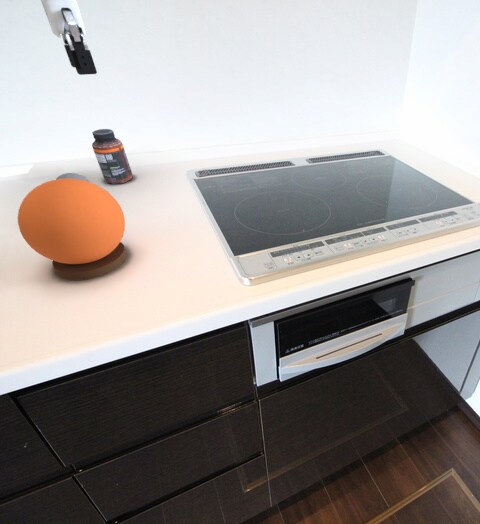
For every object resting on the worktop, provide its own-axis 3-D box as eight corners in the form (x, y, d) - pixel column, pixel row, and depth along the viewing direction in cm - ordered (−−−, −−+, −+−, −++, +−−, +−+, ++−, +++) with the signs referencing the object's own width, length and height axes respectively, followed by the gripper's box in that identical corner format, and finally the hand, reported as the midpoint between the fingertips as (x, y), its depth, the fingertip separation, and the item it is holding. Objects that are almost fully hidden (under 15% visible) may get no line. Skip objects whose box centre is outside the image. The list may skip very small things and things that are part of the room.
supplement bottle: (125, 172, 90) (110, 125, 83) (138, 179, 87) (123, 131, 80) (100, 179, 86) (81, 131, 79) (112, 186, 83) (95, 136, 76)
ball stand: (47, 297, 52) (-2, 211, 44) (41, 255, 60) (-2, 175, 52) (145, 268, 59) (117, 188, 51) (128, 233, 67) (101, 160, 59)
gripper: (18, -40, 67) (57, 65, 77) (20, -45, 56) (66, 78, 66) (66, -36, 70) (98, 63, 80) (78, -40, 59) (113, 76, 69)
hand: (84, 70), depth 73 cm, fingers open, 9 cm apart
